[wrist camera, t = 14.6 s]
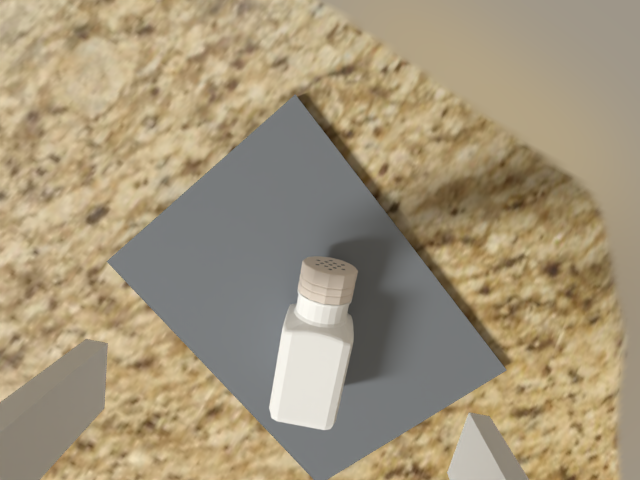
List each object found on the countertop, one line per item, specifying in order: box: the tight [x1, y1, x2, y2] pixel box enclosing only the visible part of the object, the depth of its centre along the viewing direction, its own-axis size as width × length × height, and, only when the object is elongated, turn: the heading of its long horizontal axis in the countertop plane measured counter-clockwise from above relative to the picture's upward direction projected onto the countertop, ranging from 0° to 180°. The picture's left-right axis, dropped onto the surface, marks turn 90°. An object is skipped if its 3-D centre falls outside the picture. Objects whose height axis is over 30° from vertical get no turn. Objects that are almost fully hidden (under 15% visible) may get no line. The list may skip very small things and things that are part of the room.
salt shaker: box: [269, 256, 358, 430], centre depth 20 cm, size 4×4×10 cm
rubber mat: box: [107, 95, 506, 480], centre depth 22 cm, size 22×16×1 cm
